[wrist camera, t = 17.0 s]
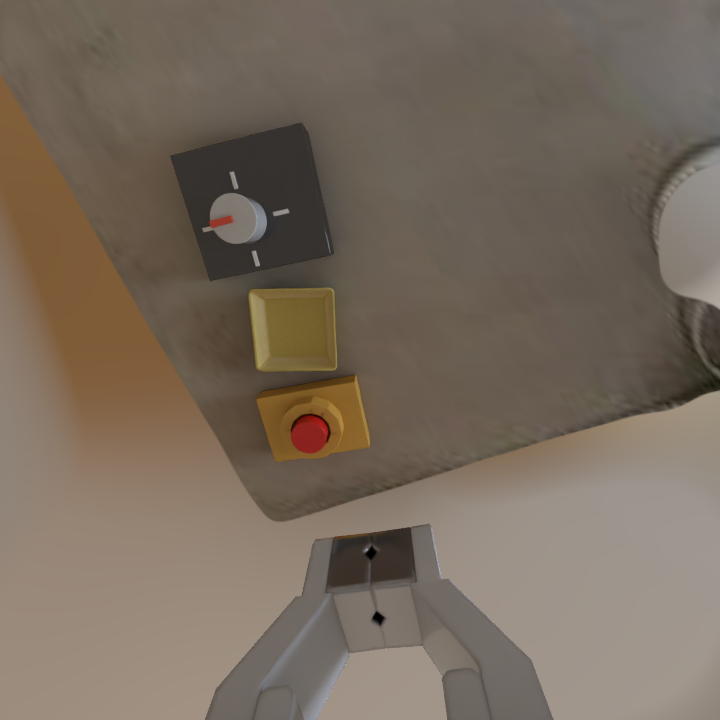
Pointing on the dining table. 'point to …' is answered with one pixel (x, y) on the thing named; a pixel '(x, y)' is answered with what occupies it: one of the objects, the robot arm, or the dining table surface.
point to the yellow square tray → (293, 329)
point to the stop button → (309, 434)
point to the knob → (237, 219)
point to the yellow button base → (322, 399)
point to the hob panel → (257, 199)
